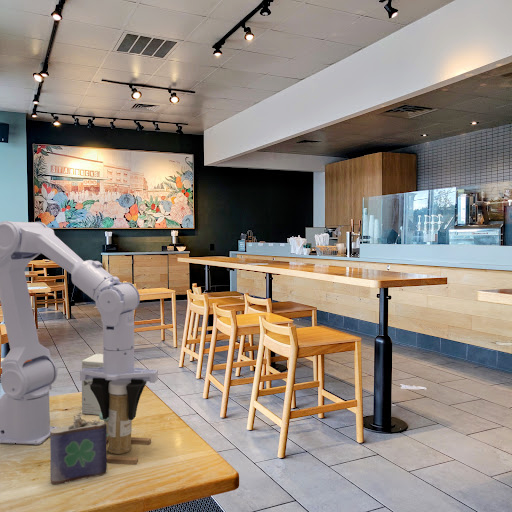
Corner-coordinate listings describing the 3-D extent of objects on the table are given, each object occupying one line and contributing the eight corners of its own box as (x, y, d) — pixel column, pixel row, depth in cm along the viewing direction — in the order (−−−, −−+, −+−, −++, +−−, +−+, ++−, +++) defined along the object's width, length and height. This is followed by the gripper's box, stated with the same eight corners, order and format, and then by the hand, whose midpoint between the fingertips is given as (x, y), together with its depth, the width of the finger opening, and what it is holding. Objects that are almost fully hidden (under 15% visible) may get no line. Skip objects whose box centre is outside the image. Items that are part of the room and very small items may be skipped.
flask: (51, 486, 82) (50, 423, 82) (49, 478, 85) (49, 417, 85) (108, 474, 87) (107, 414, 86) (105, 467, 89) (104, 408, 89)
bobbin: (96, 438, 101) (95, 417, 101) (104, 429, 106) (104, 409, 106) (118, 439, 101) (117, 418, 101) (125, 430, 105) (125, 409, 105)
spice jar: (132, 453, 95) (133, 384, 94) (107, 455, 93) (108, 385, 93) (131, 443, 99) (132, 377, 98) (107, 445, 98) (108, 378, 97)
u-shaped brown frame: (84, 462, 91) (84, 457, 91) (104, 440, 101) (104, 436, 101) (135, 464, 90) (135, 460, 90) (151, 442, 100) (151, 438, 100)
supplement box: (80, 414, 115) (80, 360, 114) (97, 403, 122) (97, 352, 121) (110, 417, 113) (109, 362, 112) (125, 406, 120) (125, 354, 120)
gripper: (72, 351, 91) (73, 424, 92) (149, 353, 90) (150, 427, 91) (88, 342, 98) (89, 410, 99) (160, 344, 97) (160, 413, 98)
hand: (119, 417), depth 95 cm, fingers closed on spice jar, 4 cm apart
